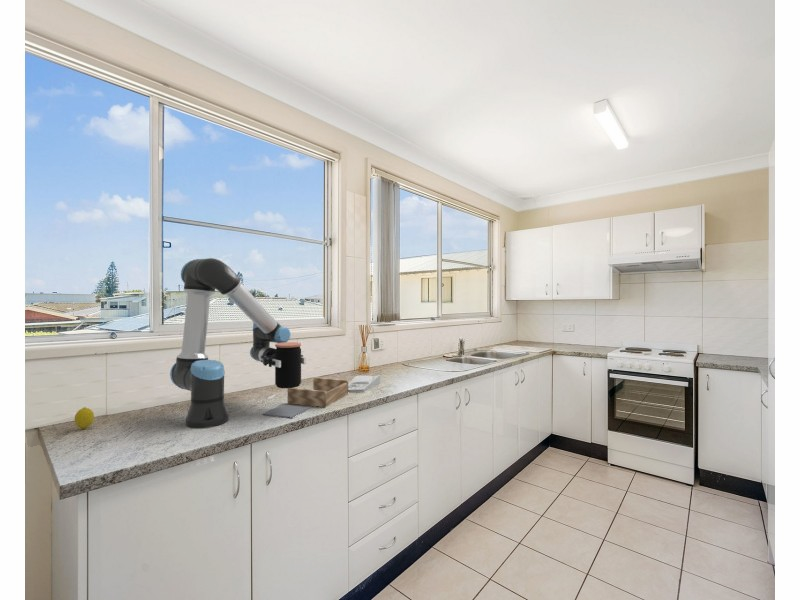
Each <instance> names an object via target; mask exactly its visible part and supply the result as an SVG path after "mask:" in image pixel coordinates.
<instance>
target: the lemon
mask: <svg viewBox="0 0 800 600" xmlns="http://www.w3.org/2000/svg"><path fill="white" fill-rule="evenodd" d="M94 419H95V414H94V412H93V410H92V409H91V408H89V407H88V408H87V407H85V406H84V407H82V408H80V409H79V410H77V412H76V414H75V415H74V423H75V425H76V427H78V428H81V429H82V430H86V429H87V428H88V427H89V426H91V425H92V424H93V422H94Z"/></svg>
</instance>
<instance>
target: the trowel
mask: <svg viewBox="0 0 800 600" xmlns="http://www.w3.org/2000/svg"><path fill="white" fill-rule="evenodd" d="M378 384H379V385H381V374H380V375H375V376H374V375H372V376H371V375H356V376H354V377H353V378H352V380H350V381H349V382H348V392H364V393H365V391H366V392H368V391H370V390H371V388H372V389H373V388H375V387H377V386H379V385H378ZM376 385H377V386H376ZM369 389H370V390H369ZM367 390H368V391H367Z"/></svg>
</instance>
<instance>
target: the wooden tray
mask: <svg viewBox="0 0 800 600" xmlns="http://www.w3.org/2000/svg"><path fill="white" fill-rule="evenodd" d="M312 381H313V383H312V385H313V386H312V387H313V388H312V389H308V388H307V389H306V388H298V387H295V388H287V404H288V403H290V404H289V405H297V404H300V405H299V406H307V405H310V406H309V407H316V406H319V407H318V408H326V406H327V407H328V406H330V405H332V404H333V402H334V403H336V402H337V401H338V399H339V400H341V399H342V398H344V397H346V396H348V395H349V393H348V383H349V380H348V379H336V378H324V377H313V379H312ZM340 398H341V399H340ZM331 403H332V404H331ZM329 404H330V405H329Z"/></svg>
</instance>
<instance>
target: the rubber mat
mask: <svg viewBox="0 0 800 600" xmlns="http://www.w3.org/2000/svg"><path fill="white" fill-rule="evenodd" d="M308 409H309V410H311V406H303V405H294V404H284V403H283V404H280V405H278V406H276V407H274V408H271V409H270V410H268V411H265V412H263V413H262V415H263V416H268V415H269V416H270V417H276V416H278V418H284V417H291V418H290V419H294V418H296V417H297V416H296V415H298V414H300V413H301V414H303V413H305V412H307V411H308ZM306 410H307V411H306ZM304 411H305V412H304ZM302 412H303V413H302ZM301 414H300V415H301ZM295 416H296V417H295ZM298 416H299V415H298ZM293 417H294V418H293Z"/></svg>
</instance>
